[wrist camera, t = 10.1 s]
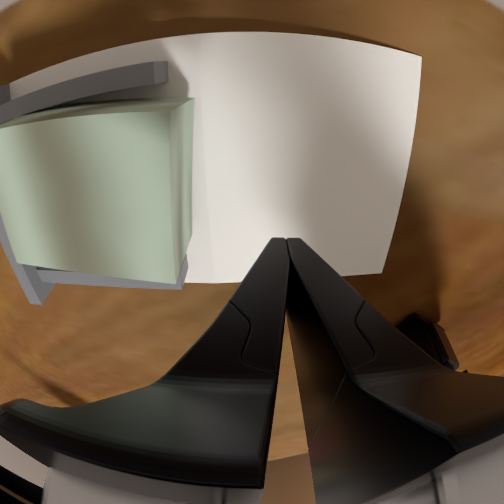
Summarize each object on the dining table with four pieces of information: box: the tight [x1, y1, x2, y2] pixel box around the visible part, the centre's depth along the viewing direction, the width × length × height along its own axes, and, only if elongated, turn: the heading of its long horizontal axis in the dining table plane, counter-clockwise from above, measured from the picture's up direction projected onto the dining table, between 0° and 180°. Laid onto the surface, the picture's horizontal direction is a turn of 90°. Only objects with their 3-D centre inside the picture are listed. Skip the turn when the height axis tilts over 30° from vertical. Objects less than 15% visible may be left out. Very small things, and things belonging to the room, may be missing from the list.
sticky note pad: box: [0, 97, 195, 284], centre depth 12 cm, size 9×7×5 cm
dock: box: [0, 32, 422, 305], centre depth 14 cm, size 24×14×5 cm, turn 90°
